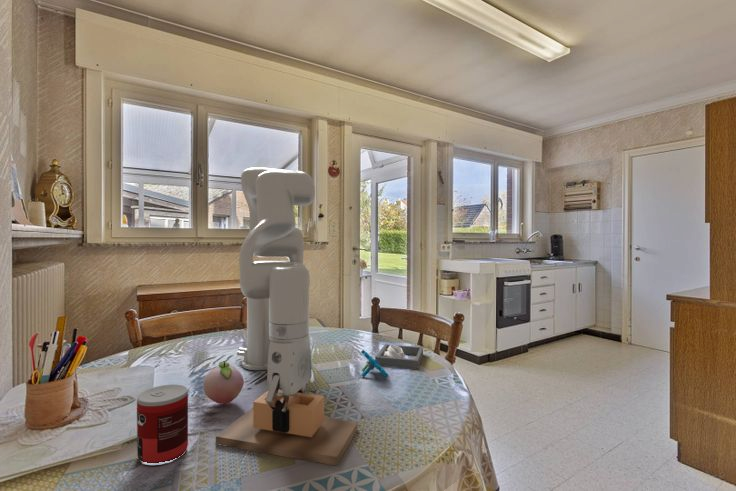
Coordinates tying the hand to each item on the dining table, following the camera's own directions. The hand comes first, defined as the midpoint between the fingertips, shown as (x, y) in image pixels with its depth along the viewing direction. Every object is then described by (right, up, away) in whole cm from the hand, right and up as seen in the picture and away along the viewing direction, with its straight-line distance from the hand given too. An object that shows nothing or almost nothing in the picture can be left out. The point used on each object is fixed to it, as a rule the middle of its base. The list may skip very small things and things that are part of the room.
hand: (289, 421), depth 69 cm
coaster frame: (+26, -2, +45) cm, 52 cm away
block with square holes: (0, -1, 0) cm, 1 cm away
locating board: (0, -3, 0) cm, 3 cm away
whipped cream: (+24, -3, +45) cm, 51 cm away
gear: (+17, -3, +31) cm, 36 cm away
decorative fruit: (-18, -3, +13) cm, 23 cm away
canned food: (-21, -3, -6) cm, 22 cm away
